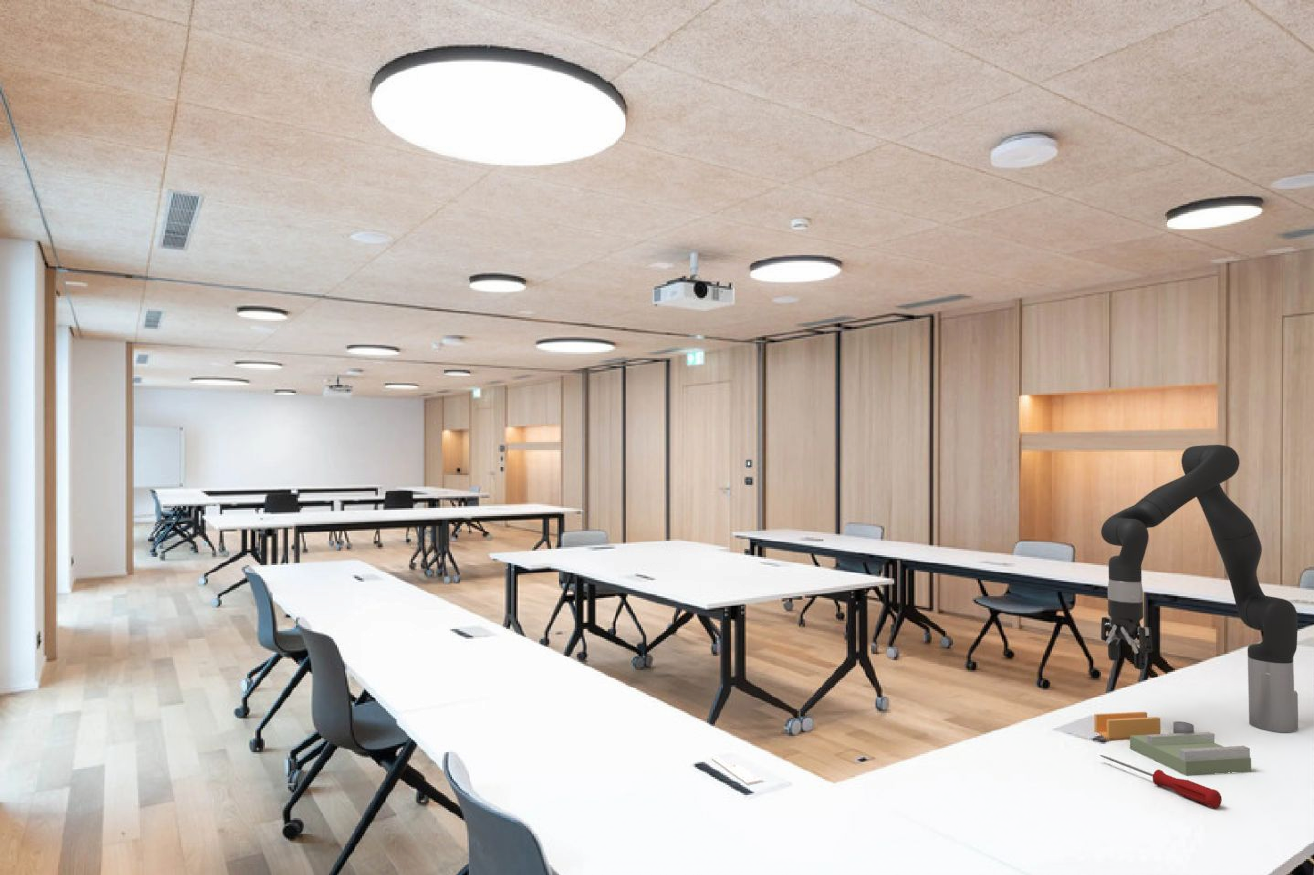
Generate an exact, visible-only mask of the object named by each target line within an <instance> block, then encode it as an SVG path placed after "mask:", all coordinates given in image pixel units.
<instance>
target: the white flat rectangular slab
mask: <svg viewBox="0 0 1314 875" xmlns="http://www.w3.org/2000/svg"><path fill="white" fill-rule="evenodd" d="M711 761H713V762H714V763H715V764H717V765H718V766H719V767H721V768H722V769H724V770H725V771H726V772H728V773H730V774H731V775H732V776H733V777H735V778H736V779H738V780H739V781H741V782H742V783H743V784H744V785H746V786H750V785H757V784H760V783H766V781H765V780H764V779H763V778H760V777H759V775H758V776H757V775H756V774H755V773H753V772H752V771H751V770H749V769H747V768H746V767H744V765H743V766H742V765H741V764H736V763H734V764H733V766H732V765H731V764H728V763H726V762H725V761H724V760H723V759H721V758H720V757H719V756H713V757H711Z"/></svg>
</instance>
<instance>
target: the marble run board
mask: <svg viewBox="0 0 1314 875" xmlns="http://www.w3.org/2000/svg"><path fill="white" fill-rule="evenodd" d="M1172 723H1173V725H1172V726H1173V727H1172V730H1173V733H1193V732H1195V726H1194V724H1193V723H1190V722H1186V721H1179V720H1178V721H1173V722H1172ZM1173 733H1172V734H1173ZM1211 747H1224V745H1221V744H1218V743H1216V742H1214V743H1200V744H1181V745H1161V746H1151V745H1149V744H1147V735H1132V736H1130V740H1129V749H1131V750H1133V751H1134V752H1136V751H1137V753H1139V754H1140V755H1142V756H1144V757H1147V758H1149V759H1151V760H1153V761H1155V762H1158V763H1159V764H1162V765H1164V766H1166V767H1168V768H1170V769H1171V770H1174V771H1176V772H1177V773H1180V774H1182V775H1183V776H1186V777H1187V776H1204V775H1205V776H1206V775H1216V774H1215V773H1224V774H1233V773H1232V772H1241V773H1252V757H1250V758H1232V759H1214V760H1196V761H1184V760H1181V759H1179V749H1191V748H1211ZM1228 772H1230V773H1228Z"/></svg>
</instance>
